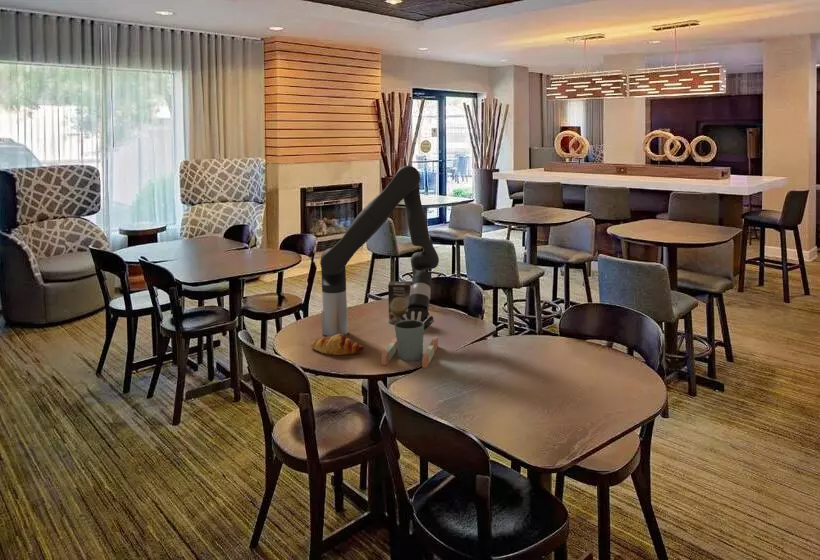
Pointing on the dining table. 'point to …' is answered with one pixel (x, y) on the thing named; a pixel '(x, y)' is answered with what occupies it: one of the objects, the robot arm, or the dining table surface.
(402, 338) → the grey green cup
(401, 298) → the coffee box
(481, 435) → the dining table surface
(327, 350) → the croissant
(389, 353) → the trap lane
